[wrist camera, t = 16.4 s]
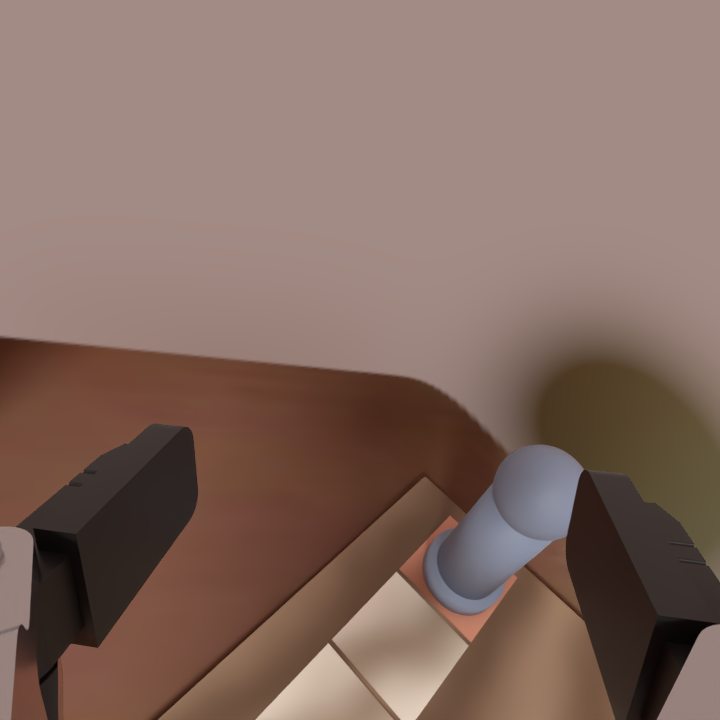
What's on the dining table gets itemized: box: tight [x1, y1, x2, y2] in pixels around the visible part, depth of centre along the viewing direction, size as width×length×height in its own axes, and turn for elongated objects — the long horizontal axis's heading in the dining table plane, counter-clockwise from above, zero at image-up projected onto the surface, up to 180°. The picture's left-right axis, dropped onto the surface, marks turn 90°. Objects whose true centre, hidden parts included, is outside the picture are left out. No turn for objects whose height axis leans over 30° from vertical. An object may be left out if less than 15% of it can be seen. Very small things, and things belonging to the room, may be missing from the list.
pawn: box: [423, 445, 584, 616], centre depth 29 cm, size 5×5×13 cm
